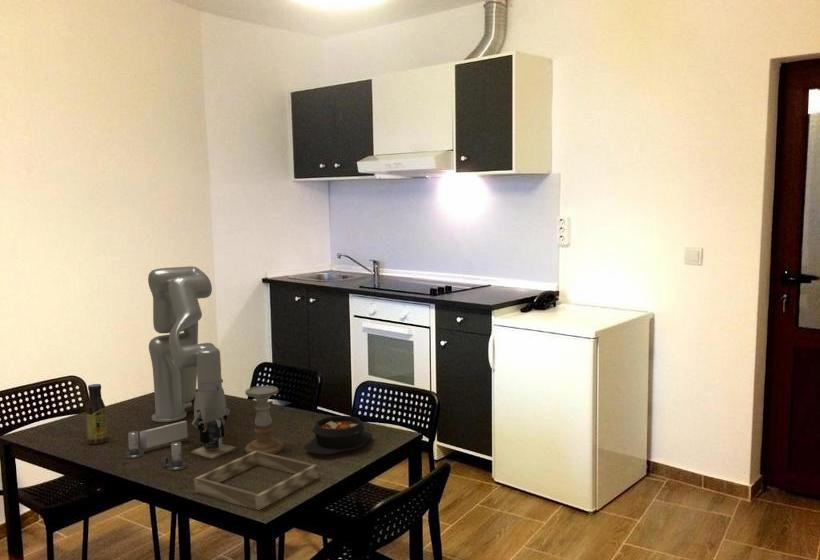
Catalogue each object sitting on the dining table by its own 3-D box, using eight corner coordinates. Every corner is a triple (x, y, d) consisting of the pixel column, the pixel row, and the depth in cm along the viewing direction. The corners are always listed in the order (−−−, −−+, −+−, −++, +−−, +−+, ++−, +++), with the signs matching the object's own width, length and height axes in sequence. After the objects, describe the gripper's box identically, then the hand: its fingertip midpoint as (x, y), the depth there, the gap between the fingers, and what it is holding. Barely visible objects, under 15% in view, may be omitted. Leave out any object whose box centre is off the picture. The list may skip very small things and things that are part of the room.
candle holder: (267, 440, 233) (264, 382, 230) (291, 448, 225) (289, 388, 223) (237, 451, 223) (234, 390, 221) (261, 459, 215) (258, 397, 213)
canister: (146, 402, 280) (143, 352, 278) (187, 392, 293) (184, 344, 291) (168, 411, 268) (165, 358, 265) (209, 400, 281) (206, 350, 279)
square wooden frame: (256, 462, 213) (255, 450, 212) (318, 478, 200) (317, 464, 200) (194, 492, 192) (194, 478, 192) (259, 511, 179) (258, 496, 179)
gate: (142, 449, 222) (141, 433, 221) (139, 448, 223) (138, 431, 223) (188, 437, 233) (187, 421, 232) (185, 436, 234) (184, 420, 234)
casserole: (332, 465, 210) (331, 438, 209) (291, 452, 222) (290, 427, 221) (385, 441, 230) (384, 417, 229) (345, 431, 241) (344, 407, 240)
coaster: (214, 443, 230) (214, 441, 230) (235, 448, 225) (235, 447, 225) (190, 453, 222) (190, 451, 222) (212, 458, 217) (212, 457, 217)
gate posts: (120, 456, 220) (118, 434, 219) (136, 450, 225) (134, 428, 224) (176, 472, 207) (174, 448, 206) (191, 465, 212) (190, 442, 211)
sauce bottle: (99, 445, 231) (95, 388, 228) (83, 444, 232) (79, 387, 229) (111, 439, 237) (108, 383, 235) (95, 438, 238) (91, 382, 236)
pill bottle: (226, 445, 225) (224, 412, 223) (212, 451, 220) (210, 417, 218) (213, 442, 228) (212, 409, 226) (199, 448, 223) (197, 414, 221)
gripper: (221, 378, 230) (224, 429, 233) (180, 391, 216) (183, 446, 218) (237, 381, 227) (240, 433, 229) (197, 394, 212) (200, 450, 214)
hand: (212, 439), depth 223 cm, fingers closed on pill bottle, 6 cm apart
